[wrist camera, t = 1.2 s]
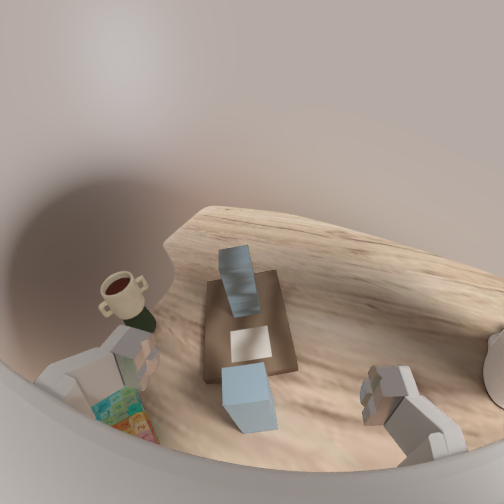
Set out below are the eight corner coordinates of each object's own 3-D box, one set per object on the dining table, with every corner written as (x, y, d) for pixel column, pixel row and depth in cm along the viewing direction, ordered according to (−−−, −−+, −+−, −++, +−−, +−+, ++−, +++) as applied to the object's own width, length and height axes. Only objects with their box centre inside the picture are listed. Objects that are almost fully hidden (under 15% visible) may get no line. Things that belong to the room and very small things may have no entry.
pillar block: (273, 400, 37) (263, 362, 30) (278, 429, 33) (268, 399, 26) (241, 404, 37) (221, 367, 30) (243, 433, 33) (222, 405, 26)
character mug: (155, 306, 58) (132, 260, 50) (172, 322, 54) (147, 274, 46) (117, 334, 52) (87, 290, 45) (131, 353, 48) (98, 309, 40)
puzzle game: (153, 439, 30) (57, 475, 22) (167, 447, 32) (75, 482, 25) (129, 380, 38) (45, 418, 31) (142, 393, 41) (61, 429, 34)
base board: (276, 274, 60) (268, 221, 52) (298, 370, 41) (294, 318, 33) (209, 286, 61) (191, 235, 53) (206, 383, 41) (176, 336, 33)
